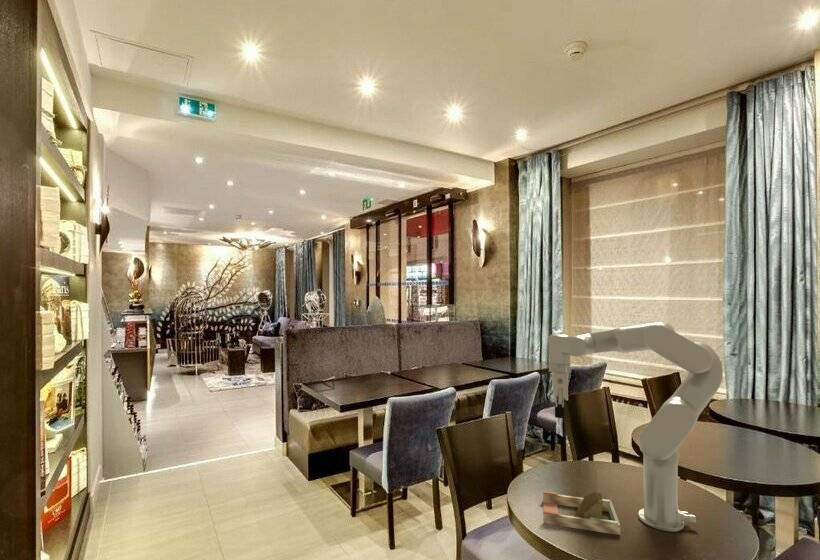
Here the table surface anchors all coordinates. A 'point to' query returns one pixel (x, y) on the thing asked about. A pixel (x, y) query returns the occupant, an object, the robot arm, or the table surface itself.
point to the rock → (590, 507)
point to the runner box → (582, 523)
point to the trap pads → (550, 506)
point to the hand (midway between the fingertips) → (559, 417)
